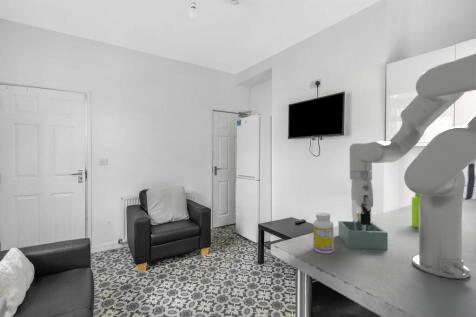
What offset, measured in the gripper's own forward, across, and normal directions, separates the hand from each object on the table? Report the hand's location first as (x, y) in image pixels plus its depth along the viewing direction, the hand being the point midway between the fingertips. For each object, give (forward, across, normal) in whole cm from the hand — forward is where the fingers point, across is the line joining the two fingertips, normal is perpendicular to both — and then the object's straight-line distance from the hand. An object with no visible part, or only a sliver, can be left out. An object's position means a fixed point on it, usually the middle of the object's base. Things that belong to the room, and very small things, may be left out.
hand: (361, 221), depth 89 cm
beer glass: (+7, 0, 0) cm, 7 cm away
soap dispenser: (+8, +23, -33) cm, 41 cm away
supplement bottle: (+8, -10, +16) cm, 20 cm away
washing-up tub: (+8, 0, 0) cm, 8 cm away
